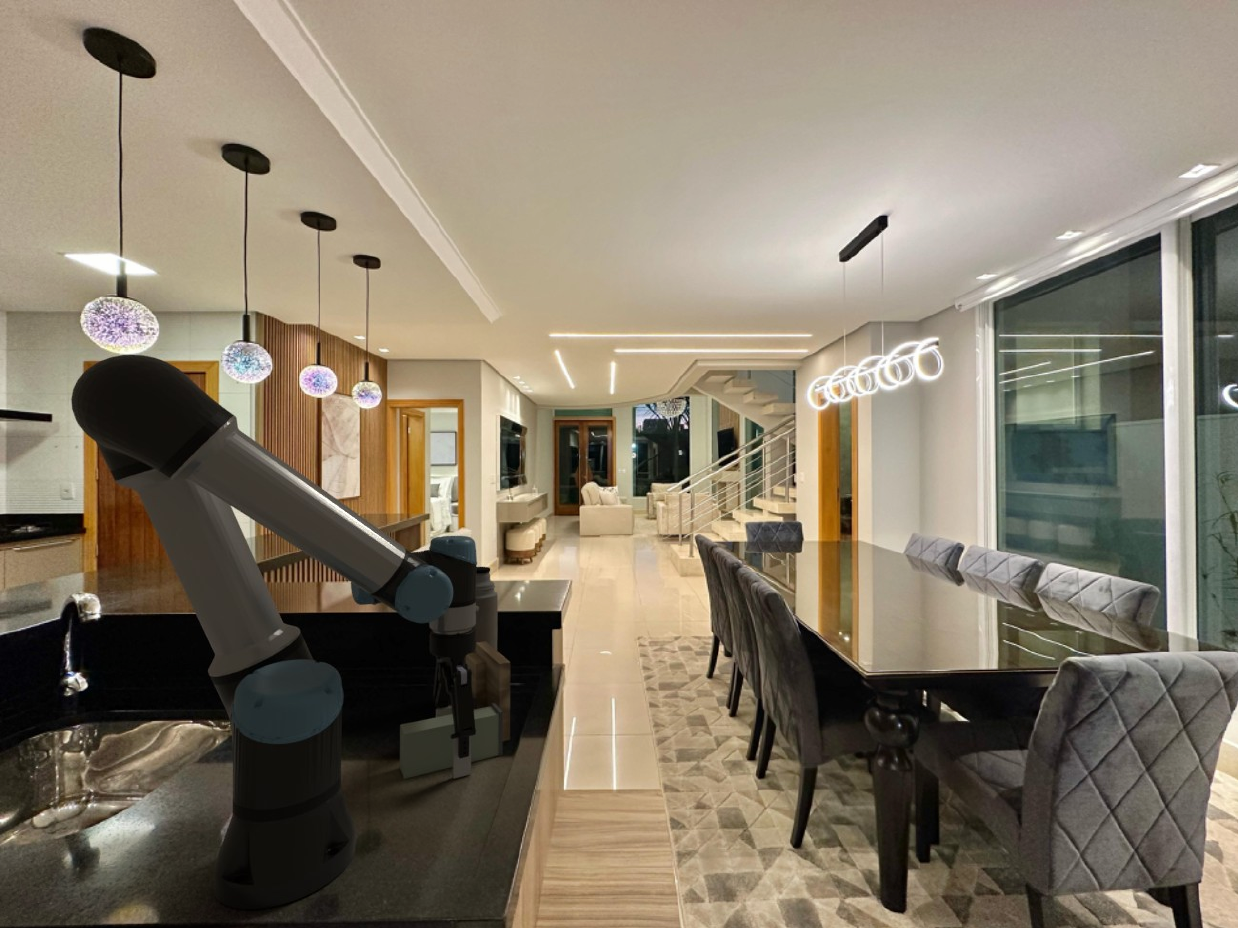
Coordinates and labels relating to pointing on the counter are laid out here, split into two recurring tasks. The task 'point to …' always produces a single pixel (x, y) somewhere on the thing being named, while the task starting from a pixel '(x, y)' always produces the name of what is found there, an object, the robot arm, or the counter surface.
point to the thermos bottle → (485, 608)
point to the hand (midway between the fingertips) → (452, 759)
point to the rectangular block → (447, 741)
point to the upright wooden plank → (490, 681)
